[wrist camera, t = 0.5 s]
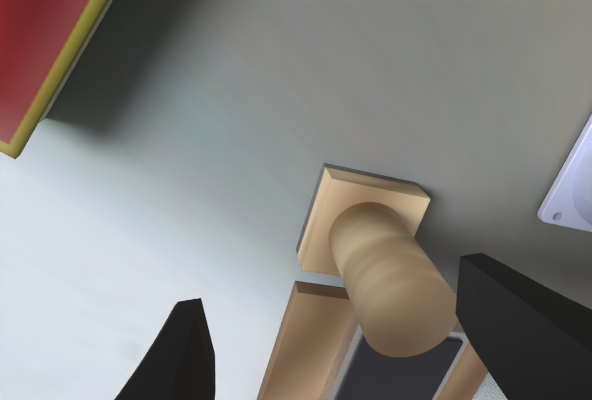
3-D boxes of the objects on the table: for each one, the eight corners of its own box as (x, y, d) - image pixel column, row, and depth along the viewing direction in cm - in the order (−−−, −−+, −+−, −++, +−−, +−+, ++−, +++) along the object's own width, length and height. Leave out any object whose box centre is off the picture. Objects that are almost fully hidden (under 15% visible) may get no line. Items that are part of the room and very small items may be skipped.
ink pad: (464, 322, 26) (474, 336, 25) (420, 404, 29) (427, 420, 28) (355, 307, 24) (361, 322, 23) (319, 396, 27) (323, 414, 26)
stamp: (414, 182, 22) (501, 273, 15) (381, 262, 24) (444, 376, 17) (323, 162, 21) (371, 251, 14) (296, 248, 23) (326, 364, 16)
